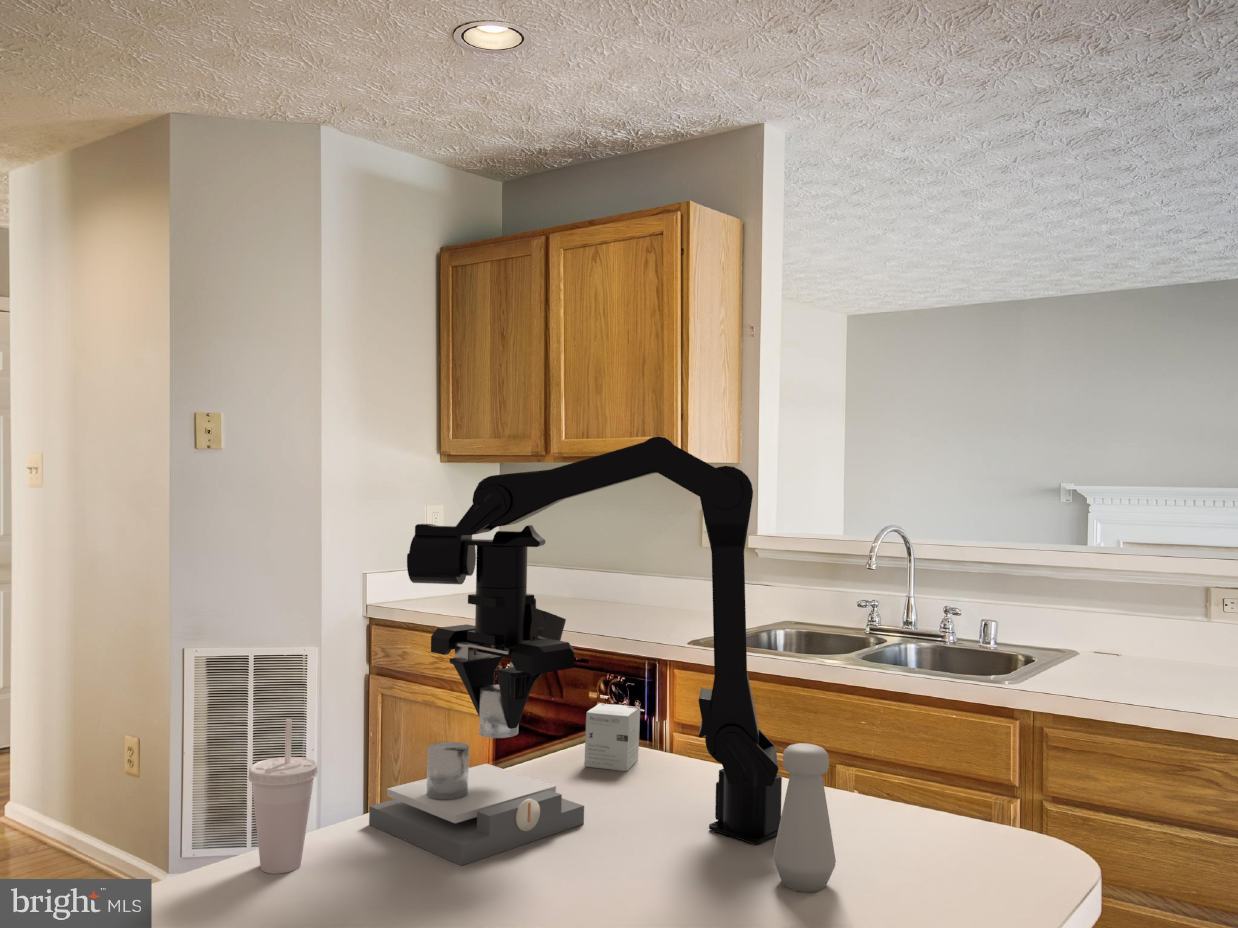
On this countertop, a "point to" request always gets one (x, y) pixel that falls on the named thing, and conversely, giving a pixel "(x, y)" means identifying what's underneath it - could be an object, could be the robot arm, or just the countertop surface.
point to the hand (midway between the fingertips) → (498, 724)
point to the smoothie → (282, 807)
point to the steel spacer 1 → (447, 770)
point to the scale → (477, 815)
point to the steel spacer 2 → (493, 714)
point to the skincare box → (612, 736)
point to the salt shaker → (805, 822)
